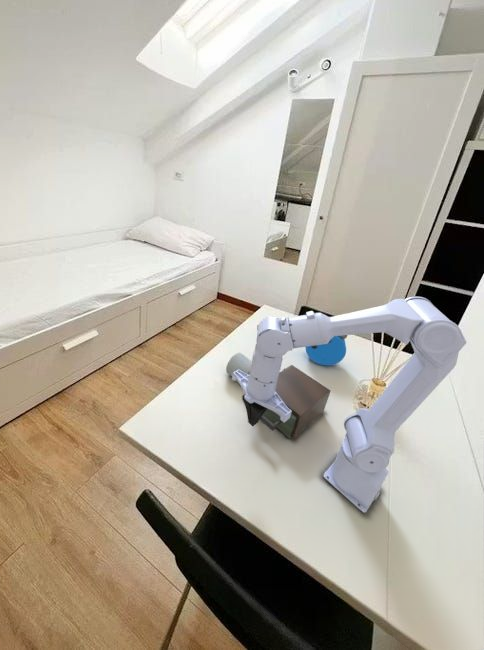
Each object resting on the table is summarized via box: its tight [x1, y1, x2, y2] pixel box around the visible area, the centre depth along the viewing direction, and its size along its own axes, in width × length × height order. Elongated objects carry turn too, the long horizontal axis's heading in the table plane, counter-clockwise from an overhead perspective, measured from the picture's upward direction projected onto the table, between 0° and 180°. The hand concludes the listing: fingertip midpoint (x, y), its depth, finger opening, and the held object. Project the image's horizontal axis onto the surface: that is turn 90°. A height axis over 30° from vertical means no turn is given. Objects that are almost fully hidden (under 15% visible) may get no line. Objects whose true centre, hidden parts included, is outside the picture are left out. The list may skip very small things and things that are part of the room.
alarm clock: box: [304, 335, 348, 366], centre depth 102 cm, size 13×6×15 cm, turn 71°
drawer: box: [259, 409, 297, 438], centre depth 78 cm, size 19×12×6 cm, turn 131°
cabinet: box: [275, 364, 332, 440], centre depth 81 cm, size 15×13×8 cm
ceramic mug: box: [225, 352, 252, 377], centre depth 92 cm, size 11×8×8 cm
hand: (253, 422), depth 64 cm, fingers closed
